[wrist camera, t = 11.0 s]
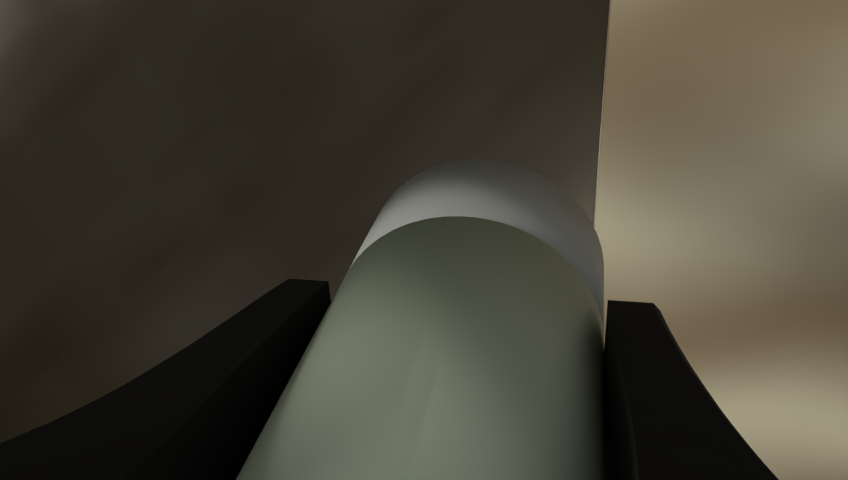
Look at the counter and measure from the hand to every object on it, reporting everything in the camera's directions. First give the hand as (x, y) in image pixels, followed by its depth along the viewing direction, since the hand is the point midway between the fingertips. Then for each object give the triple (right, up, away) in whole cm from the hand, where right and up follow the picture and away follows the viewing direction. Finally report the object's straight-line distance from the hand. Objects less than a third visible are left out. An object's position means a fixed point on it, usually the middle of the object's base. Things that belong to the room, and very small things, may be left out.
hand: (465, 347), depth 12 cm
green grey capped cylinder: (0, +1, +2) cm, 2 cm away
